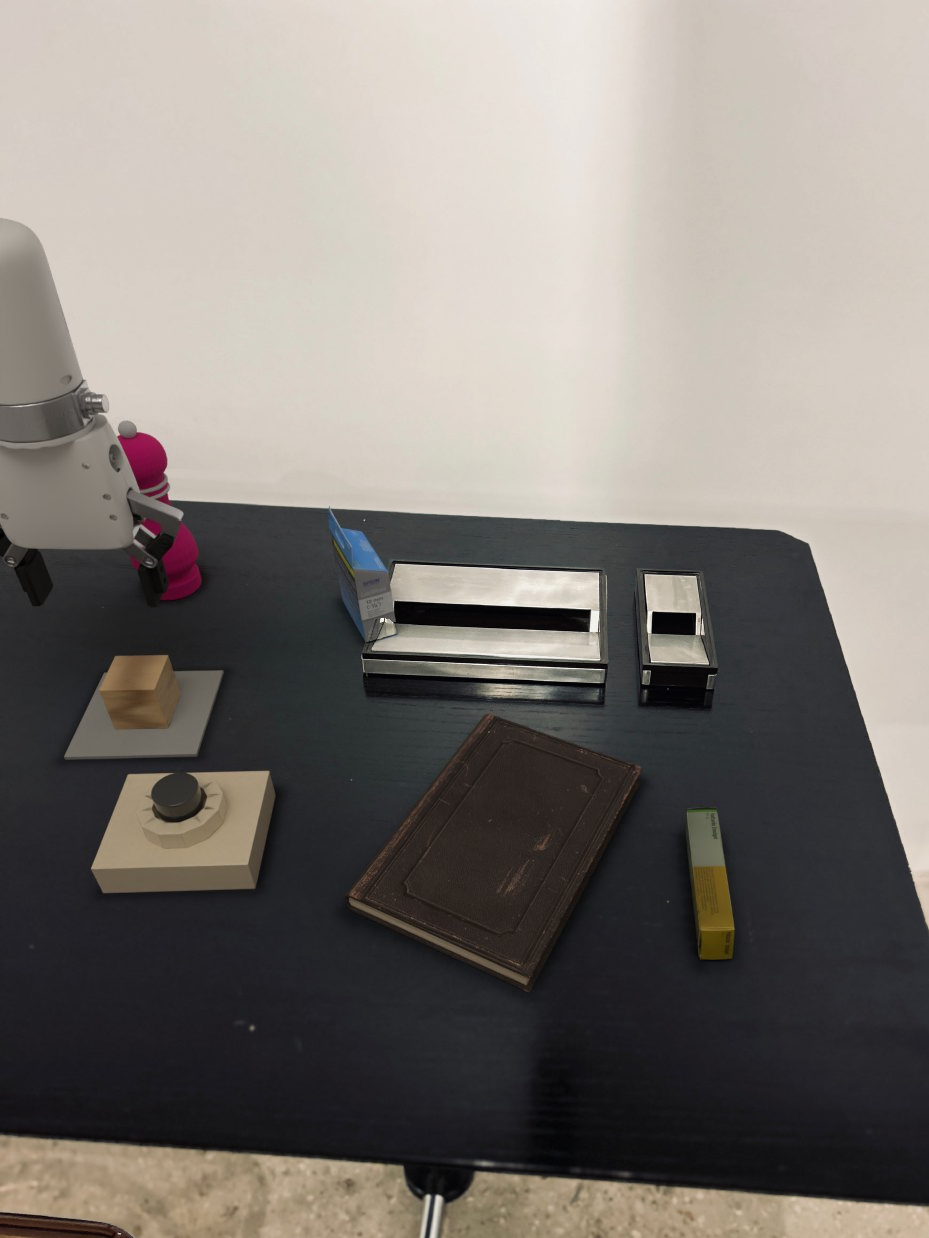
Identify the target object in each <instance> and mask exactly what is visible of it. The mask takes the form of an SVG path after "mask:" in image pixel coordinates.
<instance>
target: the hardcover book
mask: <svg viewBox="0 0 929 1238" xmlns="http://www.w3.org/2000/svg"><path fill="white" fill-rule="evenodd" d="M642 771H643V767H642V766H639V765H637V764H634V763H630V762H628V761H625V760H623V759H619V758H616V757H615V756H611V755H609V754H608V755H607V754H605V753H602V752H599V751H596V750H594V749H592V748H588V747H585V746H582V745H579V744H577V743H574V742H571V741H568V740H566V739H562V738H559V737H557V736H554V735H551V734H549V733H545V732H543V731H539V730H537V729H534V728H531V727H529V726H526V725H523V724H521V723H520V724H519V723H517V722H514V721H512V720H508V719H505V718H504V717H503V718H502V717H499V716H497V715H495V714H491V713H486V714H483V716H482V718H480V720H479V721H478V723H477V724H476V725H475V726H474V727H473V729H472V730H471V732H470V733H469V734H468V735H467V737H466V738H465V739H464V741H463V742H462V743H461V744H460V746H458V748H457V750H456V751H455V752H454V754H453V755H452V756H451V757H450V759H448V762H446V764H445V765H444V767H443V768H442V769H441V770H440V772H439V773H438V774H437V776H436V777H435V778H434V779H433V781H432V782H431V783H430V785H429V786H428V787H427V788H426V790H425V791H424V792H423V794H422V795H421V796H420V797H419V799H418V800H417V802H416V803H415V804H414V805H413V806H412V808H411V809H410V810H409V812H408V813H407V814H406V815H405V817H404V818H403V820H402V821H401V822H400V824H399V825H398V826H397V827H396V829H394V831H393V832H392V834H391V835H390V836H389V838H388V839H387V840H386V842H385V843H384V844H383V845H382V847H381V848H380V849H379V851H377V853H376V854H375V856H374V857H373V858H372V859H371V861H370V862H369V864H368V865H367V866H366V867H365V868H364V870H363V871H362V873H360V875H359V877H358V878H357V879H356V881H355V882H354V883H353V884H352V886H351V887H350V888H349V889H348V891H347V892H346V893H345V894H344V901H345V905H346V907H347V908H348V909H349V910H350V911H351V912H352V913H354V914H357V915H358V916H361V917H363V918H366V919H367V920H370V921H372V922H374V923H376V924H378V925H380V926H382V927H385V928H387V929H389V930H392V931H393V932H395V933H399V934H400V935H402V936H405V937H406V938H409V939H411V940H413V941H415V942H417V943H420V944H421V945H423V946H426V947H428V948H430V949H432V950H435V951H437V952H438V953H439V952H440V953H441V954H443V955H446V956H448V957H450V958H452V959H455V960H457V961H459V962H461V963H463V964H465V965H468V966H470V967H472V968H474V969H476V970H478V971H480V972H482V973H484V974H486V975H489V976H491V977H493V978H495V979H498V980H500V981H502V982H504V983H506V984H509V985H511V986H513V987H515V988H517V989H519V990H521V991H524V992H526V993H528V994H530V993H531V991H532V989H533V987H534V986H535V983H536V981H537V979H538V978H539V976H540V975H541V972H542V970H543V969H544V967H545V964H546V962H547V961H548V959H549V957H550V955H551V954H552V951H553V949H554V948H555V945H557V944H556V943H557V942H558V940H559V938H560V936H561V934H562V932H563V930H564V929H565V926H566V925H567V922H568V921H569V919H570V917H571V915H572V914H573V912H574V909H575V908H576V906H577V904H578V902H579V901H580V898H581V896H582V894H583V892H584V891H585V889H586V886H587V885H588V883H589V881H590V879H591V877H592V875H593V873H594V872H595V870H596V868H597V866H598V864H599V863H600V860H601V859H602V856H603V855H604V852H605V851H606V849H607V848H608V846H609V843H610V842H611V839H612V838H613V836H614V833H615V832H616V830H617V828H618V826H619V824H620V822H621V820H623V819H622V818H623V817H624V815H625V813H626V811H627V809H628V807H629V805H630V804H631V801H632V800H633V798H634V796H635V794H636V792H637V790H638V788H639V786H640V784H641V782H640V781H638V779H639V776H640V774H641V772H642Z"/></svg>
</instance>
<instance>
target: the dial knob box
mask: <svg viewBox="0 0 929 1238" xmlns="http://www.w3.org/2000/svg"><path fill="white" fill-rule="evenodd" d="M173 773H174V772H165V773H164V772H163V773H162V772H161V773H129V774H127V775H126V779H125V781H124V784H123V786H122V788H121V791H120V793H119V796H118V799H117V801H116V804H115V807H114V809H113V812H112V814H111V817H110V819H109V822H108V824H107V827H106V829H105V832H104V834H103V837H102V839H101V842H100V845H99V847H98V850H97V852H96V854H95V858H94V860H93V862H92V865H91V867H90V870H91V872H92V874H93V876H94V878H95V880H96V882H97V884H98V886H99V888H100V890H101V892H102V894H122V893H123V894H125V893H126V894H127V893H159V892H161V893H162V892H188V891H189V892H194V891H224V890H225V891H226V890H255V889H256V887H257V883H258V879H259V875H260V870H261V865H262V861H263V855H264V852H265V847H266V840H267V837H268V832H269V827H270V823H271V819H272V814H273V809H274V804H275V800H276V796H277V795H276V791H275V787H274V783H273V780H272V777H271V772H270V770H249V771H248V770H247V771H243V770H242V771H211V772H210V771H208V772H207V771H205V772H200V771H199V772H187V773H188V774H191V775H193V776H194V777H195V778H196V779H197V781H198V784H199V786H200V789H201V792H202V795H203V798H204V804H203V807H202V809H201V810H200V812H199V813H198V814H197V815H196V816H194V817H192V818H190V819H187V820H185V821H182V822H179V823H171V822H167V821H164V820H163V819H161V818H160V817H159V815H158V813H157V810H156V808H155V805H154V803H153V800H152V798H151V791H152V788H153V786H154V785H155V784H156V783H157V782H158V781H159V780H160V779H161V778H163V777H165V776H167V775H170V774H173Z"/></svg>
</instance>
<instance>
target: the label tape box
mask: <svg viewBox="0 0 929 1238" xmlns="http://www.w3.org/2000/svg"><path fill="white" fill-rule="evenodd" d="M328 529H329V534H330V539H331V544H332V549H333V556H334V562H335V567H336V572H337V578H338V584H339V590H340V594H341V599H342V602H343V604H344V606H345V608H346V610H347V611H348V613H349V615H350V617H351V619H352V621H353V622H354V625H355V626H356V628H357V630H358V632H359V633H360V635H361V637H362V639H363V641H364V642H365V643H366V642H367V638H368V633H369V631H370V629H371V626H372V624H373V621H374V619H375V618H376V619H377V618H384V619H385V618H386V619H390V620H391V621H392V622H396V617H395V616H396V615H395V608H394V603H393V602H394V601H393V595H392V588H391V581H390V574H389V570H388V569H387V567H386V565H385V564H384V563H383V561H382V560H381V558H380V557H379V555H378V554H377V552H376V550H375V548H374V547H373V546H372V544H371V543H370V541H369V539H368V538H367V537H366V535H365V534H364V533H365V532H364V531H360V530H356V529H349V528H343V527H341V525H340V524H339V522H338V520H337V518H336V517H335V515H334V513H333V511H332V509H331V506H330V505H328Z"/></svg>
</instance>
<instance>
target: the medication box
mask: <svg viewBox="0 0 929 1238" xmlns="http://www.w3.org/2000/svg"><path fill="white" fill-rule="evenodd" d="M721 833H722V832H721V827H720V820H719V813H718V809H717V807H716V806H695V807H687V808H686V809H685V841H686V849H687V850H686V851H687V860H688V870H689V880H690V887H691V898H692V906H693V915H694V916H693V917H694V925H695V937H696V945H697V953H698V958H699V960H700V961H702V960H715V961H717V960H730V959H733V954H734V943H735V931H736V928H735V921H734V915H733V908H732V899H731V894H730V889H729V888H730V887H729V882H728V881H729V880H728V873H727V868H726V867H727V866H726V861H725V855H724V848H723V840H722V834H721Z"/></svg>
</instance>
